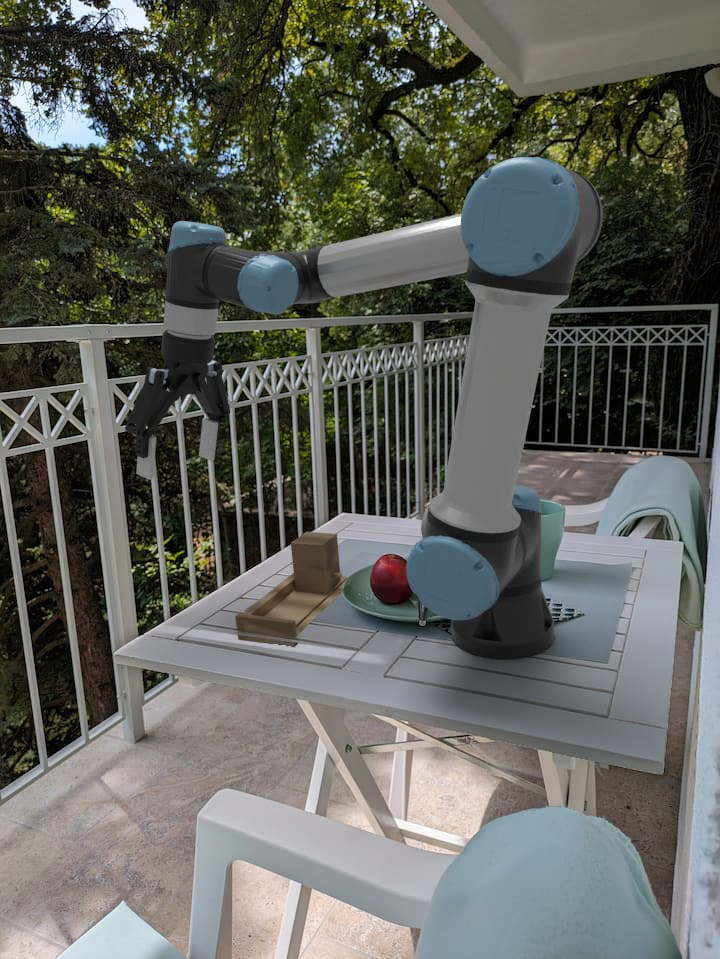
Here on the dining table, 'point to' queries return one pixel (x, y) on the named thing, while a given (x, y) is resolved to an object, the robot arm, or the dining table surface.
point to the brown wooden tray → (284, 612)
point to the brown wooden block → (316, 562)
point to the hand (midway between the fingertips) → (177, 466)
